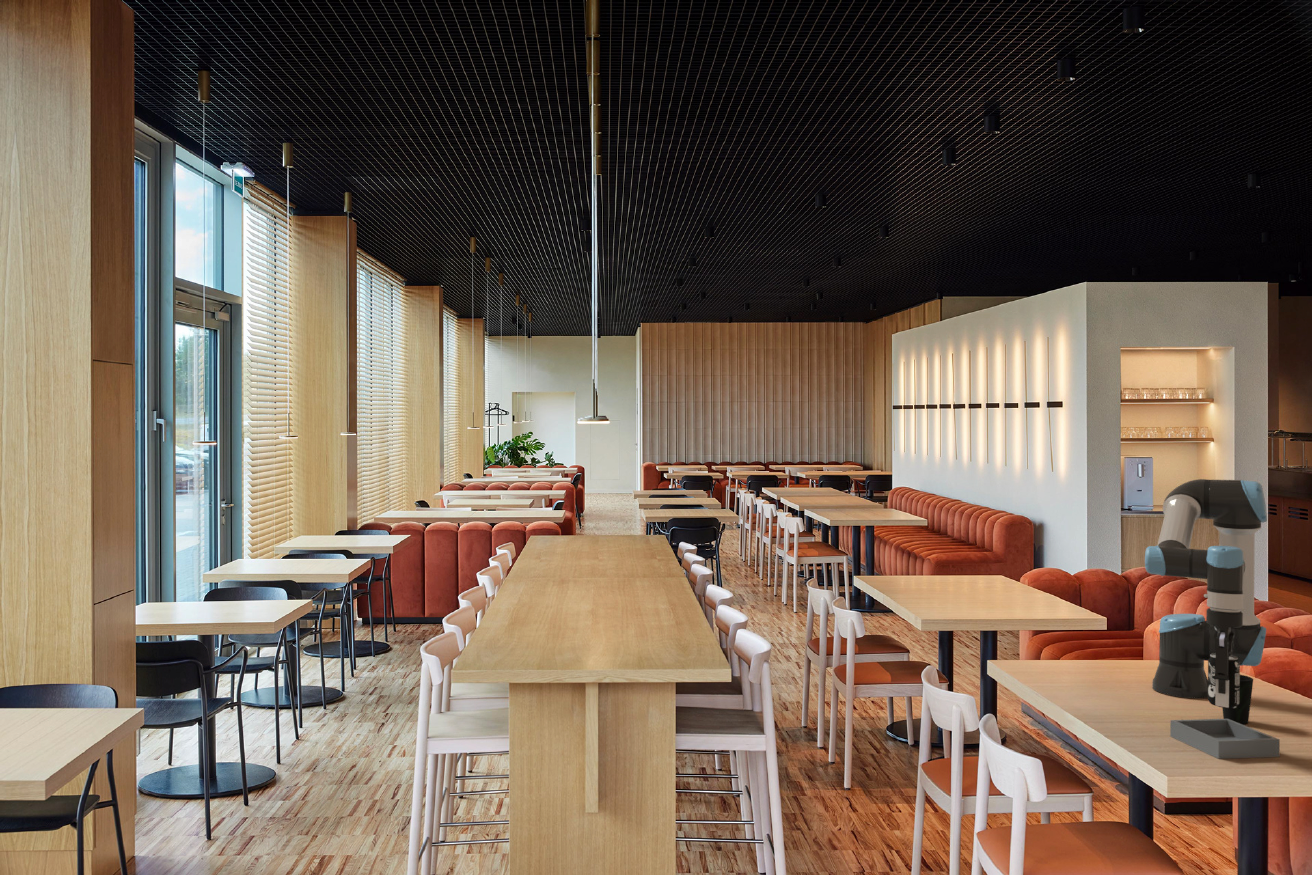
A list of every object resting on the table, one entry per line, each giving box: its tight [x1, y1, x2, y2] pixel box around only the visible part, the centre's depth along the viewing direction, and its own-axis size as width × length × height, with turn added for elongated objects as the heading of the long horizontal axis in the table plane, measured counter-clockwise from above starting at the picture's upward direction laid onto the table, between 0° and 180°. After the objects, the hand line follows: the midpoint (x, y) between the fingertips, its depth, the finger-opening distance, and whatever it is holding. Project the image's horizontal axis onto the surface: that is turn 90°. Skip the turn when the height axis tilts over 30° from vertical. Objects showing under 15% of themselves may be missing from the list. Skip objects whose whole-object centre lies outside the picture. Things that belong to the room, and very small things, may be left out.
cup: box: [1221, 674, 1254, 726], centre depth 237 cm, size 8×8×12 cm
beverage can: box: [1207, 654, 1241, 708], centre depth 216 cm, size 7×7×12 cm
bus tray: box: [1170, 718, 1280, 760], centre depth 216 cm, size 16×16×4 cm
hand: (1223, 702), depth 216 cm, fingers closed on beverage can, 7 cm apart
